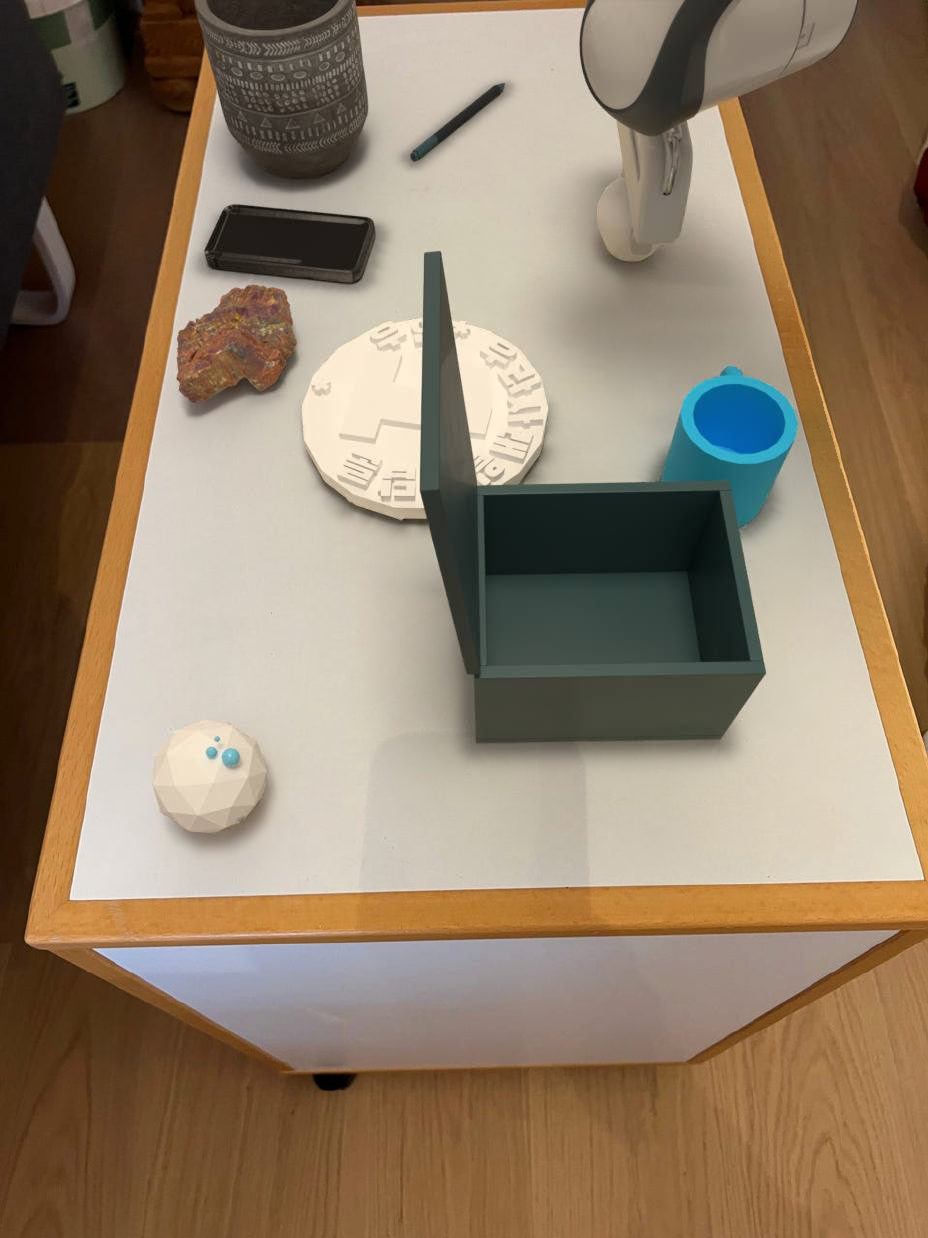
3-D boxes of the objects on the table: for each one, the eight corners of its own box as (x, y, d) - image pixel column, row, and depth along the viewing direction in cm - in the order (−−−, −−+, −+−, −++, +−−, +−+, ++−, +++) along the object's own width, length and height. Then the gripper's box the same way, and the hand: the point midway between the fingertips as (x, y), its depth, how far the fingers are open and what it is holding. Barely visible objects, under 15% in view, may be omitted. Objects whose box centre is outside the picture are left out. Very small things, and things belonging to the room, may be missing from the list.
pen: (508, 90, 94) (509, 79, 93) (417, 164, 89) (416, 153, 88) (500, 87, 95) (501, 76, 94) (409, 160, 89) (408, 149, 88)
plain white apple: (669, 275, 80) (687, 197, 73) (592, 272, 80) (602, 194, 73) (667, 224, 83) (684, 144, 76) (592, 222, 84) (602, 142, 76)
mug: (765, 536, 66) (799, 470, 59) (657, 524, 67) (678, 457, 60) (763, 416, 72) (794, 342, 65) (664, 406, 73) (684, 331, 65)
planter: (212, 179, 88) (164, 20, 75) (270, 98, 94) (235, -62, 81) (342, 206, 85) (316, 46, 72) (393, 121, 92) (377, -40, 78)
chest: (694, 567, 65) (729, 479, 56) (720, 739, 59) (766, 673, 49) (473, 571, 65) (470, 484, 56) (475, 743, 59) (473, 678, 49)
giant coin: (394, 308, 79) (391, 282, 76) (588, 393, 73) (591, 368, 71) (258, 460, 71) (249, 436, 68) (463, 566, 66) (462, 545, 63)
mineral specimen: (285, 410, 71) (223, 356, 66) (220, 437, 75) (157, 388, 70) (311, 304, 76) (256, 247, 72) (249, 335, 80) (193, 282, 76)
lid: (441, 249, 40) (423, 251, 40) (439, 489, 34) (419, 491, 34) (477, 480, 55) (464, 481, 55) (480, 674, 49) (466, 675, 49)
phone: (225, 202, 84) (376, 217, 83) (229, 213, 85) (378, 227, 84) (200, 258, 80) (357, 274, 79) (204, 268, 81) (359, 284, 80)
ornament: (188, 863, 56) (145, 831, 49) (163, 764, 59) (119, 721, 52) (289, 822, 57) (262, 785, 50) (259, 727, 60) (229, 680, 53)
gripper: (724, 143, 62) (684, 297, 74) (686, -14, 71) (656, 146, 84) (635, 145, 62) (609, 299, 74) (609, -11, 71) (591, 148, 84)
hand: (634, 217), depth 79 cm, fingers closed on plain white apple, 7 cm apart
